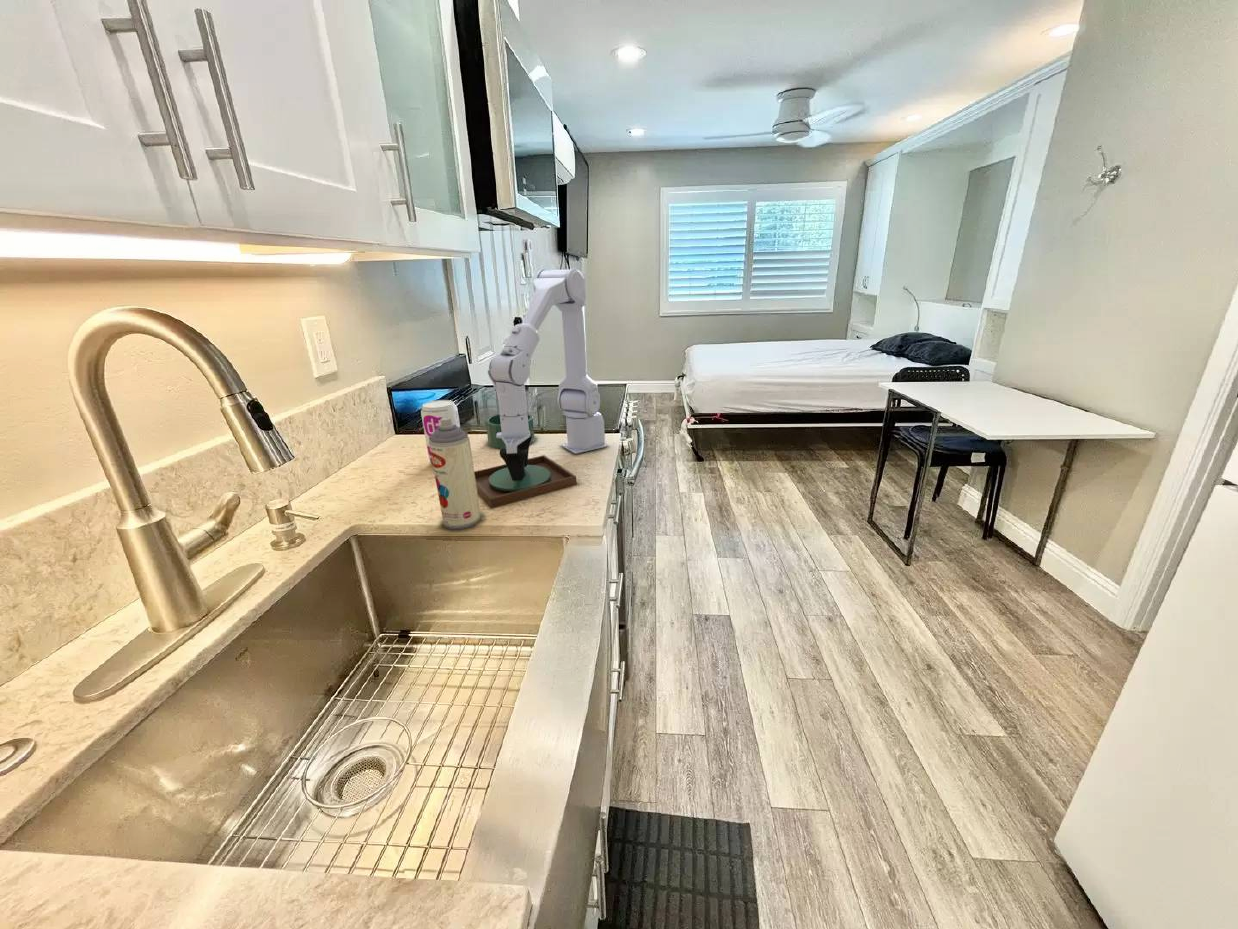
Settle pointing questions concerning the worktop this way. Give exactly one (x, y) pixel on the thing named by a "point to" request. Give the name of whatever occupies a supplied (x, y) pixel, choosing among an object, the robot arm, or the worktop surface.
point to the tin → (495, 427)
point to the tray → (499, 497)
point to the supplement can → (437, 417)
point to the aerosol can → (454, 476)
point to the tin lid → (530, 479)
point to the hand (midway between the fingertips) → (520, 473)
